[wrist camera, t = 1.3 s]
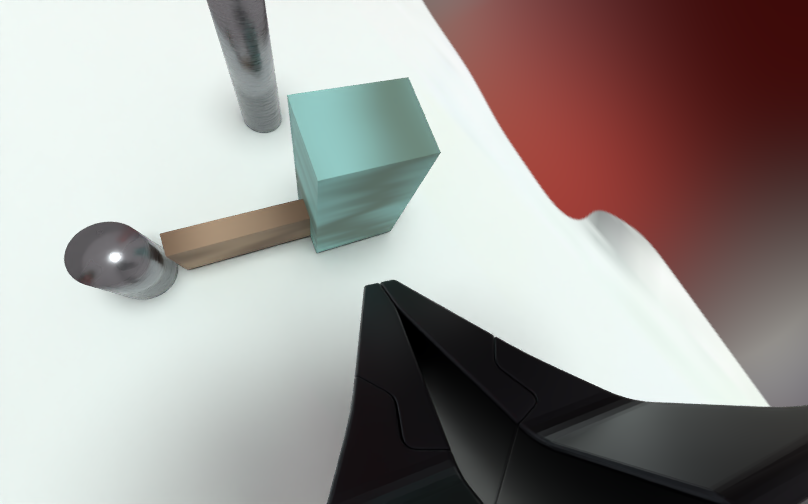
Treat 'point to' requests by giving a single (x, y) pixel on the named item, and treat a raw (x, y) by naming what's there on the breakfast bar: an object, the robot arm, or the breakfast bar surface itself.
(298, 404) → the breakfast bar surface
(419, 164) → the gate
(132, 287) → the hinge post
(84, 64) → the breakfast bar surface
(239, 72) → the post
